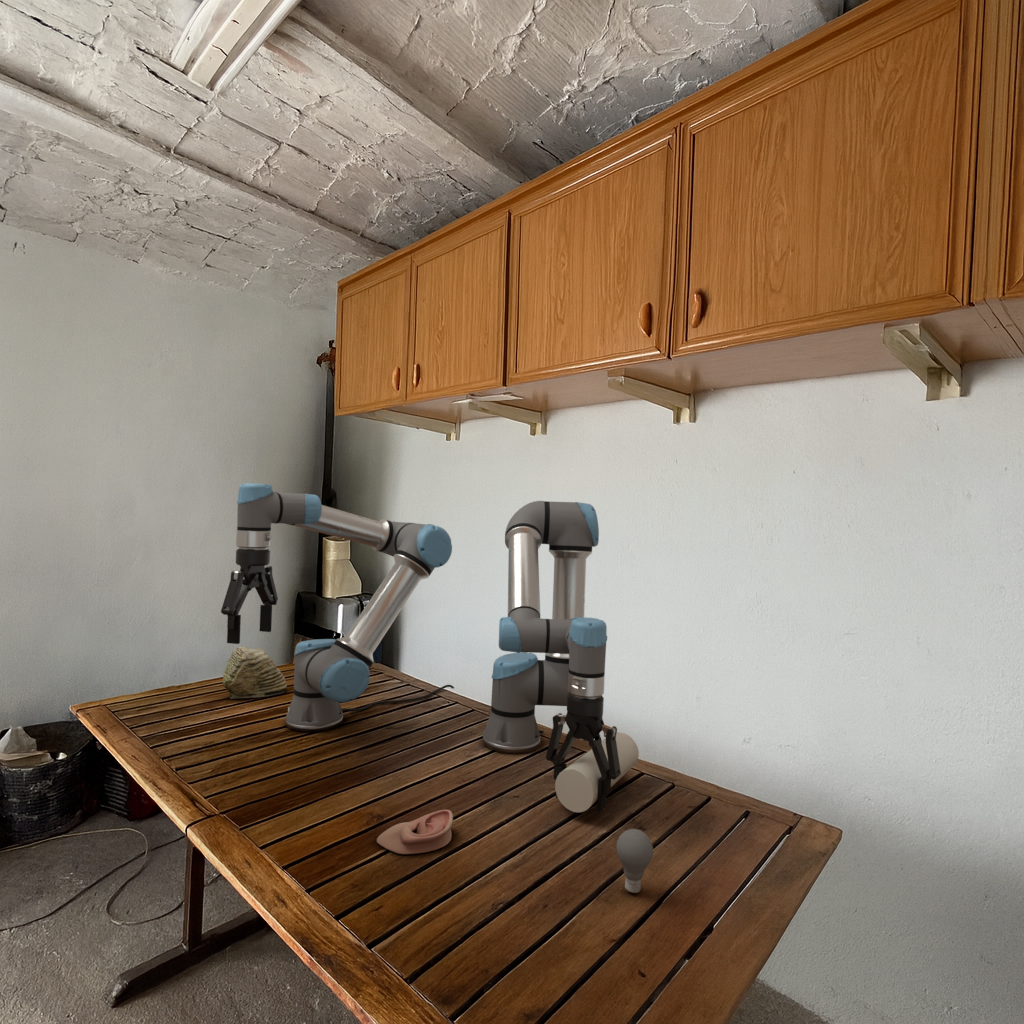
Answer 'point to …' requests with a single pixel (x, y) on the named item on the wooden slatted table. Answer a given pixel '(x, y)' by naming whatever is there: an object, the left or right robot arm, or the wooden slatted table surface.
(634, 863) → the light bulb
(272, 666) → the fossil
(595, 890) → the wooden slatted table surface
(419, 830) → the anatomical model
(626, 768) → the rod
